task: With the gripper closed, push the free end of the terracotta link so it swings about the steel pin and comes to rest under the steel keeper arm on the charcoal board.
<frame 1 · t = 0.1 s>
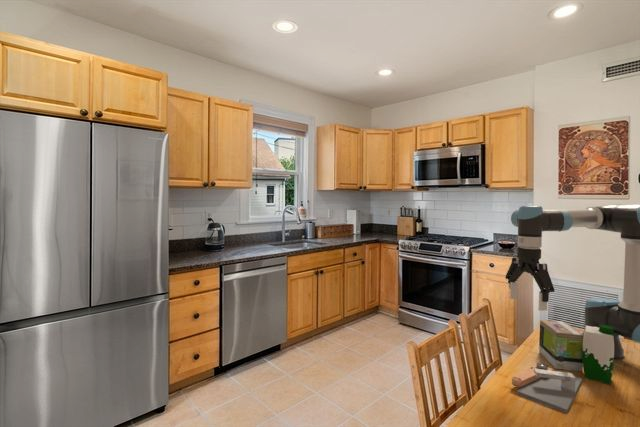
hand: (527, 304, 123), 28 cm above the table, tool pointing down, fingers open, 13 cm apart
board: (550, 387, 118), on the table
milk carton: (596, 377, 125), on the table
tea box: (559, 361, 137), on the table
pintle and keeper: (541, 377, 125), resting on board
link: (530, 375, 121), point 3 cm above the table, hinge at 0.0°
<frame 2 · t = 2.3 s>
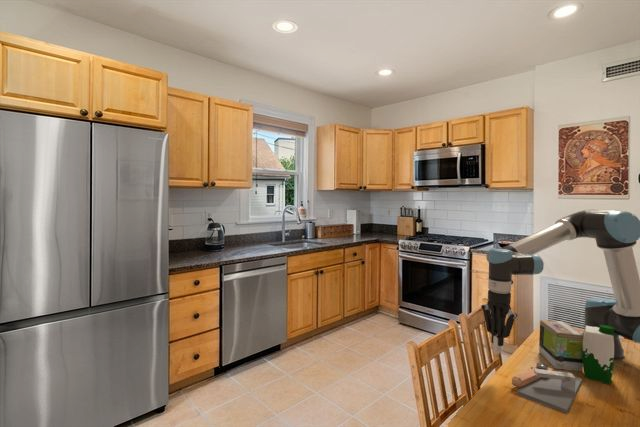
hand: (497, 352, 124), 9 cm above the table, tool pointing down, fingers closed
nothing on the table moved.
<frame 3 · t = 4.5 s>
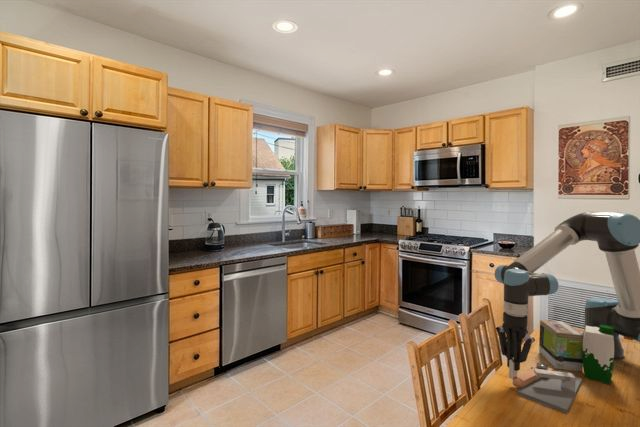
hand: (513, 377, 119), 3 cm above the table, tool pointing down, fingers closed
link: (531, 375, 121), point 3 cm above the table, hinge at 1.0°, touching gripper
everything else where it was.
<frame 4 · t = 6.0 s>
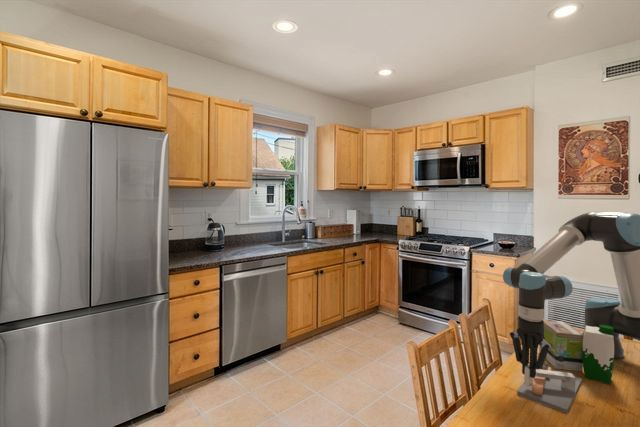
hand: (528, 384, 115), 3 cm above the table, tool pointing down, fingers closed
link: (539, 379, 119), point 3 cm above the table, hinge at 22.6°, touching gripper
everything else where it was.
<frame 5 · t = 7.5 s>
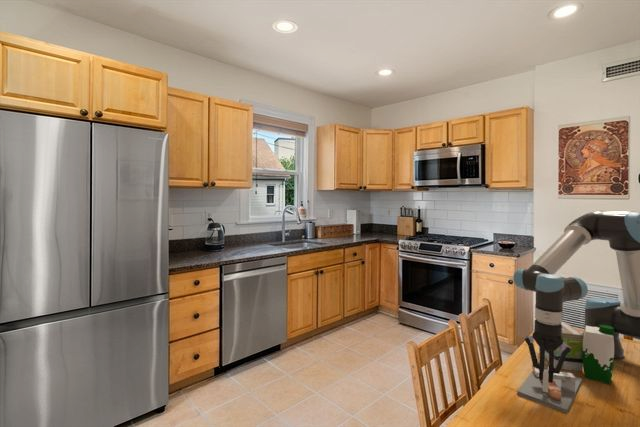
hand: (545, 390, 111), 3 cm above the table, tool pointing down, fingers closed
link: (547, 380, 118), point 3 cm above the table, hinge at 41.0°, touching gripper
everything else where it was.
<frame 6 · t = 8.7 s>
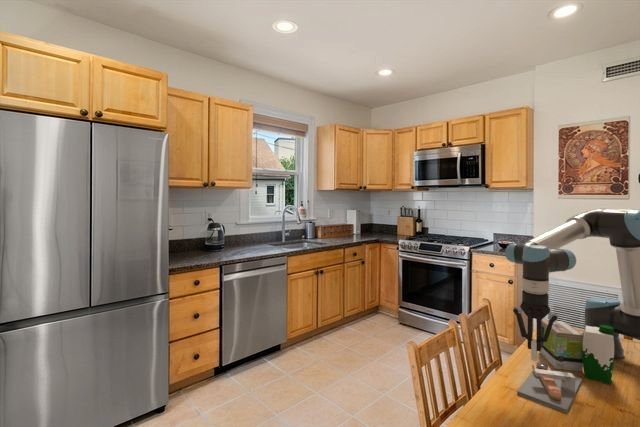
hand: (534, 358, 113), 12 cm above the table, tool pointing down, fingers closed
link: (547, 380, 118), point 3 cm above the table, hinge at 41.0°
everything else where it was.
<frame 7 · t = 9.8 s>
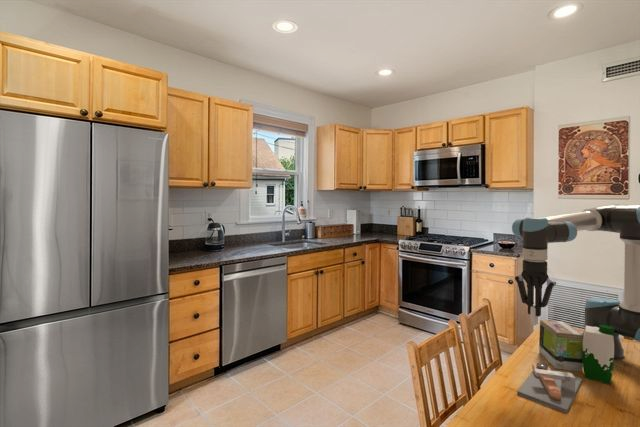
hand: (534, 323, 121), 22 cm above the table, tool pointing down, fingers closed
nothing on the table moved.
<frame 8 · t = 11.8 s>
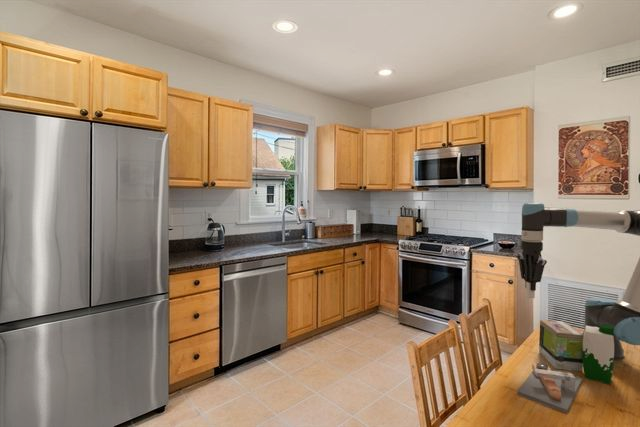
hand: (530, 297, 137), 26 cm above the table, tool pointing down, fingers closed
nothing on the table moved.
at the end: link at +41° (first picture: +0°); milk carton moved 0.2 cm from its start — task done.
